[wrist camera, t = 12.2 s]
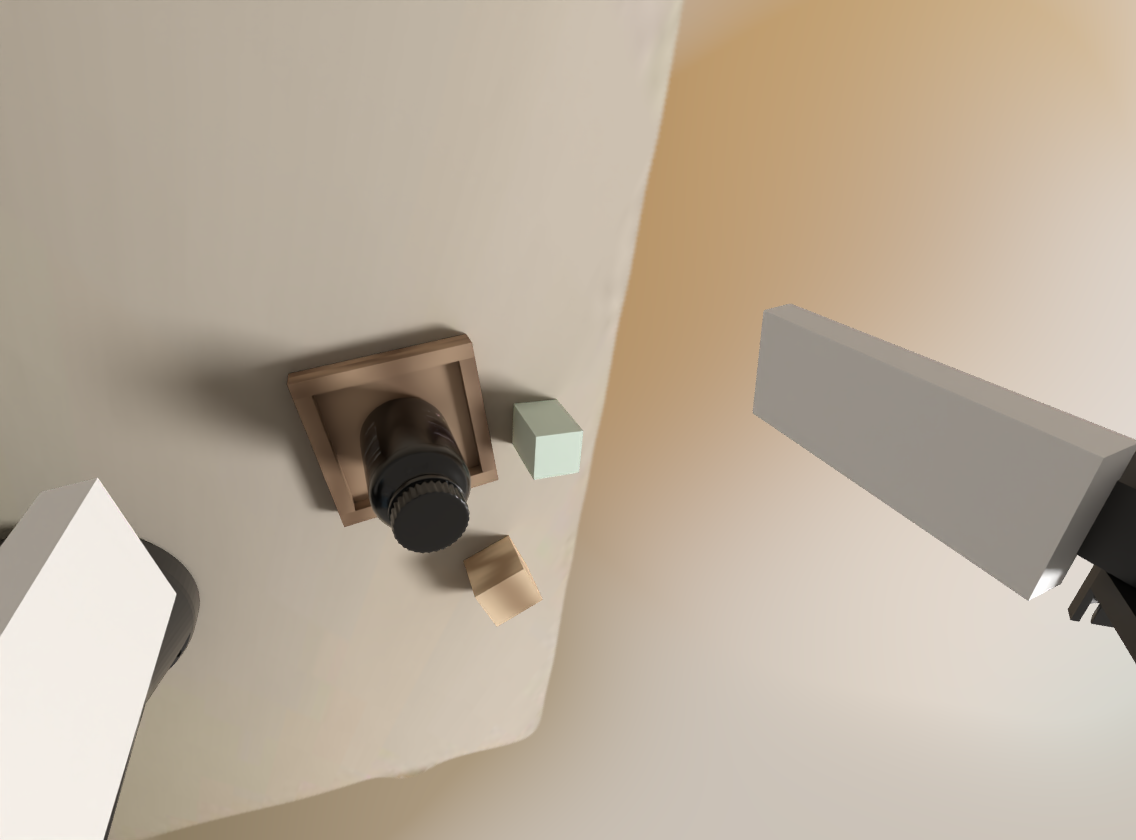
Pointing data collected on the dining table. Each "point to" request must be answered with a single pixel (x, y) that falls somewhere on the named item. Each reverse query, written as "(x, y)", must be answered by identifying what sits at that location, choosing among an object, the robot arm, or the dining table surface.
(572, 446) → the sage cube
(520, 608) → the oak block
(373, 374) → the walnut tray
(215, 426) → the dining table surface
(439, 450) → the supplement bottle
